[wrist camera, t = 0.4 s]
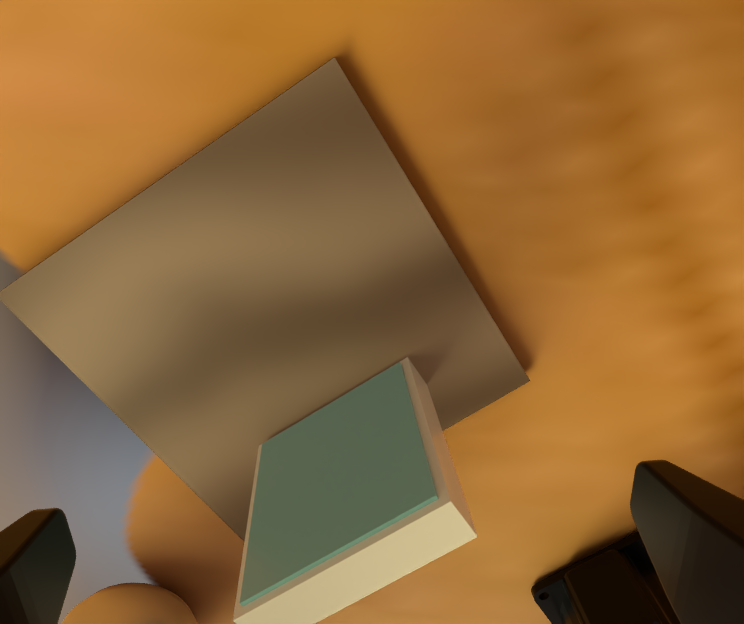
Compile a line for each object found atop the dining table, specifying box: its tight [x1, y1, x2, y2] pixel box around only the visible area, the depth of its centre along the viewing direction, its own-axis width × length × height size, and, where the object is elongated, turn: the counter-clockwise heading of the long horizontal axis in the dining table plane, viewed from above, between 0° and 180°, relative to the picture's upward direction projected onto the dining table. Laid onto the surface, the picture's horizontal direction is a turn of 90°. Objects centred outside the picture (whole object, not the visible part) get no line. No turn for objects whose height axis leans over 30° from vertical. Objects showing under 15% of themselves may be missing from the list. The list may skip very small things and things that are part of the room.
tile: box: [233, 357, 478, 624], centre depth 20 cm, size 2×7×8 cm, turn 122°
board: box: [0, 57, 530, 542], centre depth 22 cm, size 14×14×1 cm
